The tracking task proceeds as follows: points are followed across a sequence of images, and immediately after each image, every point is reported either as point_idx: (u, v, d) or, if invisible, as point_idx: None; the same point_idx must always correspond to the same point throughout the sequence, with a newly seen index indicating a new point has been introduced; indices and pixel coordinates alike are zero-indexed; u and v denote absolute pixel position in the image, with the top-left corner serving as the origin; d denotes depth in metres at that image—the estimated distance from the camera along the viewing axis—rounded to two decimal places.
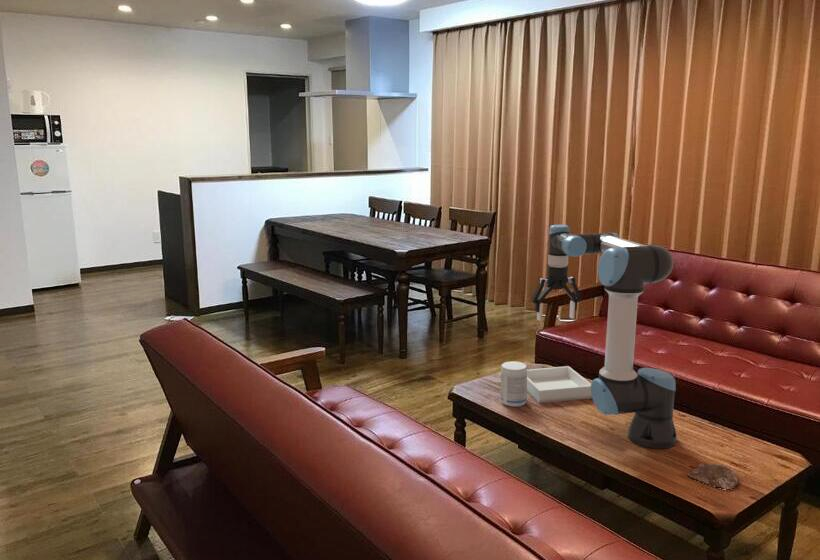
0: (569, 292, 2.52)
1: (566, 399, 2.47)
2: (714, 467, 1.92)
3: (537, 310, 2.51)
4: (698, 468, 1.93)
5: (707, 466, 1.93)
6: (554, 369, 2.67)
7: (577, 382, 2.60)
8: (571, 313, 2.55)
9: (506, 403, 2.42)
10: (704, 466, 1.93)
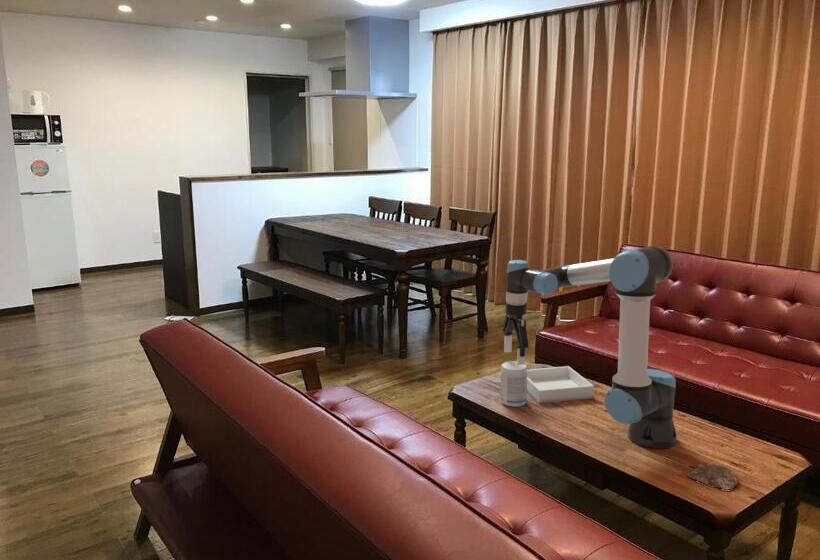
0: (516, 334, 2.35)
1: (566, 399, 2.47)
2: (713, 467, 1.92)
3: None
4: (697, 468, 1.93)
5: (706, 466, 1.92)
6: (554, 369, 2.67)
7: (577, 382, 2.60)
8: None
9: (506, 403, 2.42)
10: (703, 466, 1.93)
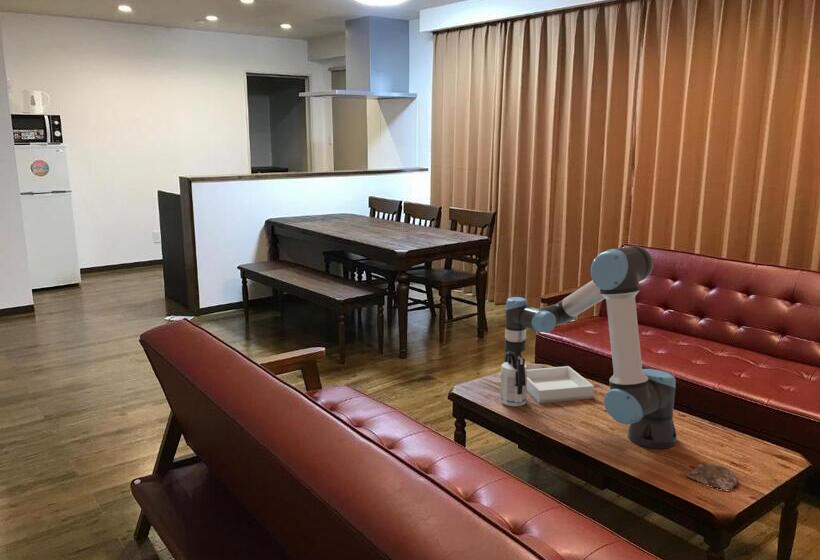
0: None
1: (566, 399, 2.47)
2: (712, 467, 1.91)
3: None
4: (697, 468, 1.93)
5: (706, 466, 1.92)
6: (554, 369, 2.67)
7: (577, 382, 2.60)
8: None
9: (506, 403, 2.42)
10: (703, 466, 1.92)
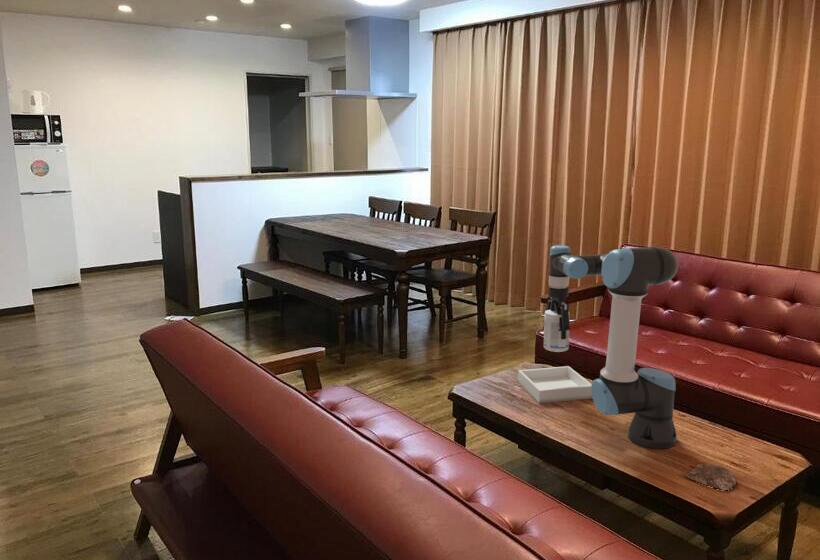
0: None
1: (566, 399, 2.47)
2: (711, 467, 1.91)
3: None
4: (696, 469, 1.93)
5: (705, 467, 1.92)
6: (554, 369, 2.67)
7: (577, 382, 2.60)
8: None
9: (549, 348, 2.50)
10: (702, 467, 1.92)
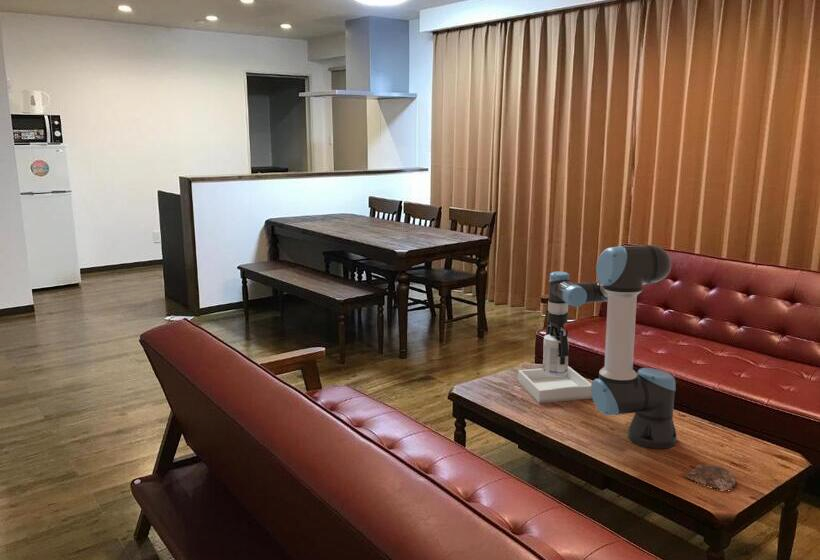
0: None
1: (566, 399, 2.47)
2: (711, 468, 1.91)
3: None
4: (695, 469, 1.93)
5: (704, 467, 1.92)
6: None
7: (577, 382, 2.60)
8: None
9: (548, 373, 2.52)
10: (701, 467, 1.92)
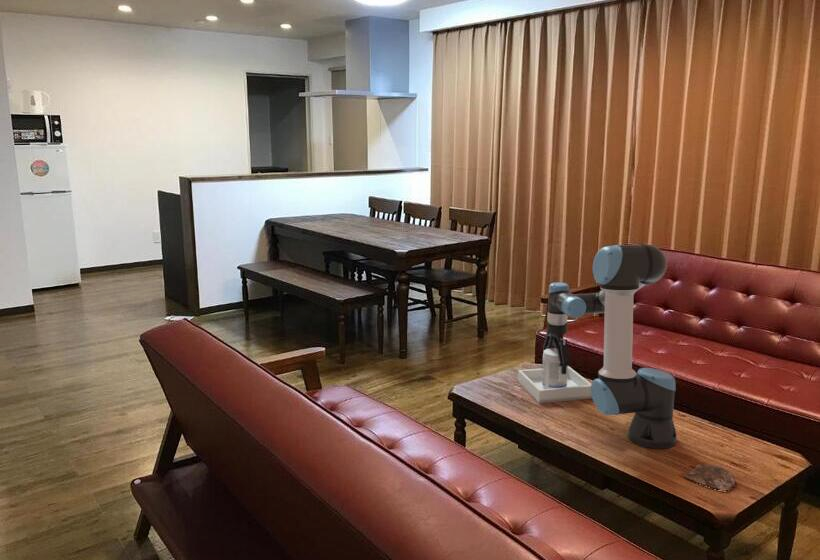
0: (558, 353, 2.49)
1: (566, 399, 2.47)
2: (710, 468, 1.91)
3: None
4: (695, 469, 1.93)
5: (704, 467, 1.92)
6: None
7: (577, 382, 2.60)
8: None
9: (548, 388, 2.54)
10: (701, 467, 1.92)
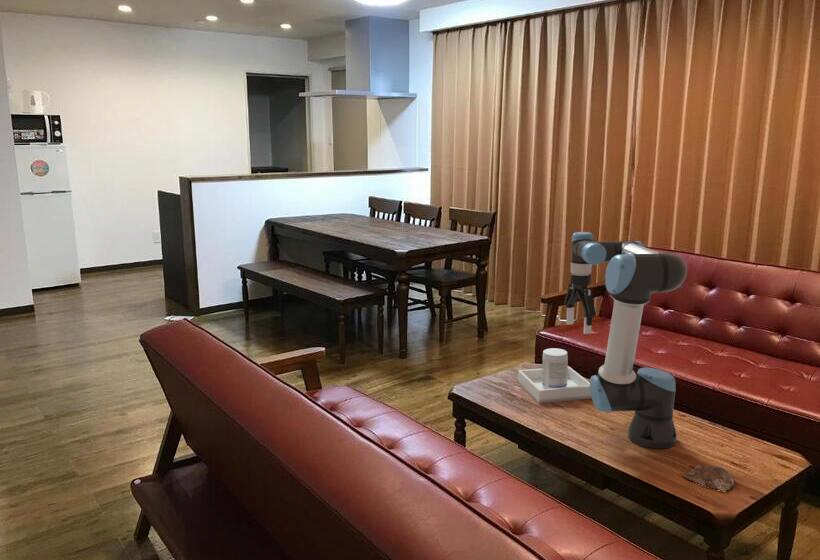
0: (582, 304, 2.41)
1: (566, 399, 2.47)
2: (710, 468, 1.91)
3: None
4: (694, 469, 1.93)
5: (703, 467, 1.92)
6: None
7: (577, 382, 2.60)
8: None
9: (548, 388, 2.54)
10: (700, 467, 1.92)
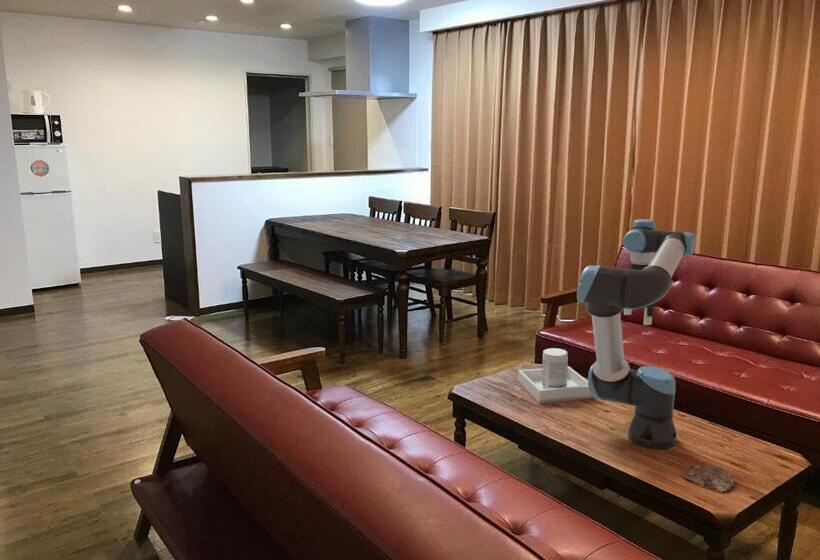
0: None
1: (566, 399, 2.47)
2: (709, 468, 1.91)
3: None
4: (694, 469, 1.93)
5: (703, 468, 1.92)
6: None
7: (577, 382, 2.60)
8: None
9: (548, 388, 2.54)
10: (700, 467, 1.92)
